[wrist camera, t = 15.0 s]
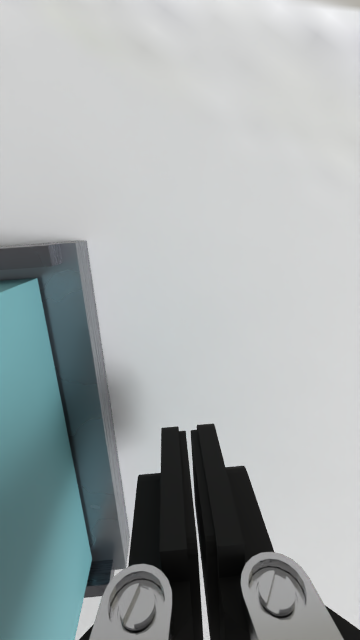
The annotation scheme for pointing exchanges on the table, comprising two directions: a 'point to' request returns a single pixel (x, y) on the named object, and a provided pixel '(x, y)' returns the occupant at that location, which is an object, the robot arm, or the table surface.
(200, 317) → the table surface
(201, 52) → the table surface
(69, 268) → the vise base
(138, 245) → the table surface
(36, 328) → the block
